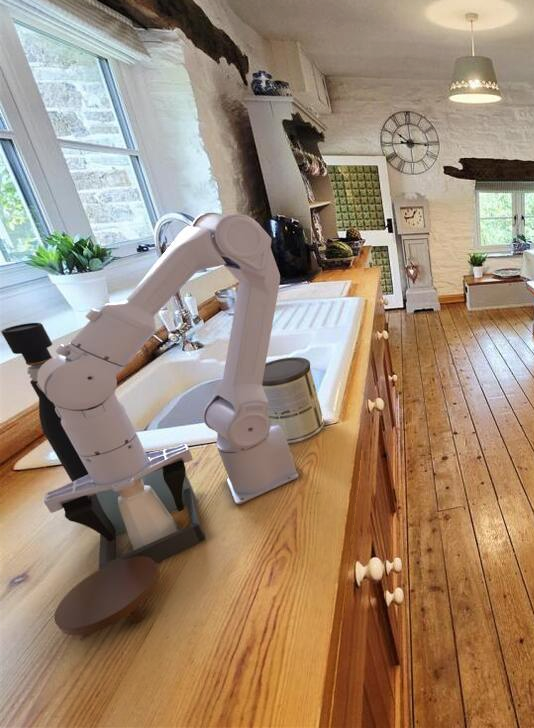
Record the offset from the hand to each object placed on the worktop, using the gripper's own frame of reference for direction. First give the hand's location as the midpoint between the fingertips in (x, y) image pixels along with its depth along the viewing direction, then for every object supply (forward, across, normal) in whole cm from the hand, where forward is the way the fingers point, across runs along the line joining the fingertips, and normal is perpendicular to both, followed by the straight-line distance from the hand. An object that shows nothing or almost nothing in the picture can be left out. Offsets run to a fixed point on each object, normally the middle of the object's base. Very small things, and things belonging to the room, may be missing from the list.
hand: (148, 521), depth 58 cm
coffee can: (+4, +24, +15) cm, 29 cm away
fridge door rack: (+3, 0, 0) cm, 3 cm away
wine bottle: (+4, -5, +17) cm, 18 cm away
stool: (+3, -4, -11) cm, 12 cm away
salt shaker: (+4, 0, 0) cm, 4 cm away
